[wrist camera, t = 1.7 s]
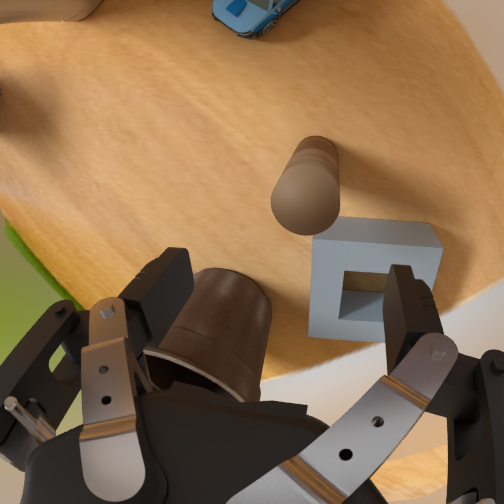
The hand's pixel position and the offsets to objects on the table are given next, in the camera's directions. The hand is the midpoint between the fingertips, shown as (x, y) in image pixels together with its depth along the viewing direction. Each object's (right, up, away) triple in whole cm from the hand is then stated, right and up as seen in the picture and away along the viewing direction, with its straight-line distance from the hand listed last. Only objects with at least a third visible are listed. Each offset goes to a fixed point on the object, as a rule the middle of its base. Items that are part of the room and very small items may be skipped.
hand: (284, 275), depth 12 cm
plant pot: (-4, -6, +28) cm, 29 cm away
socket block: (+11, -1, +20) cm, 23 cm away
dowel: (+5, +10, +16) cm, 19 cm away
